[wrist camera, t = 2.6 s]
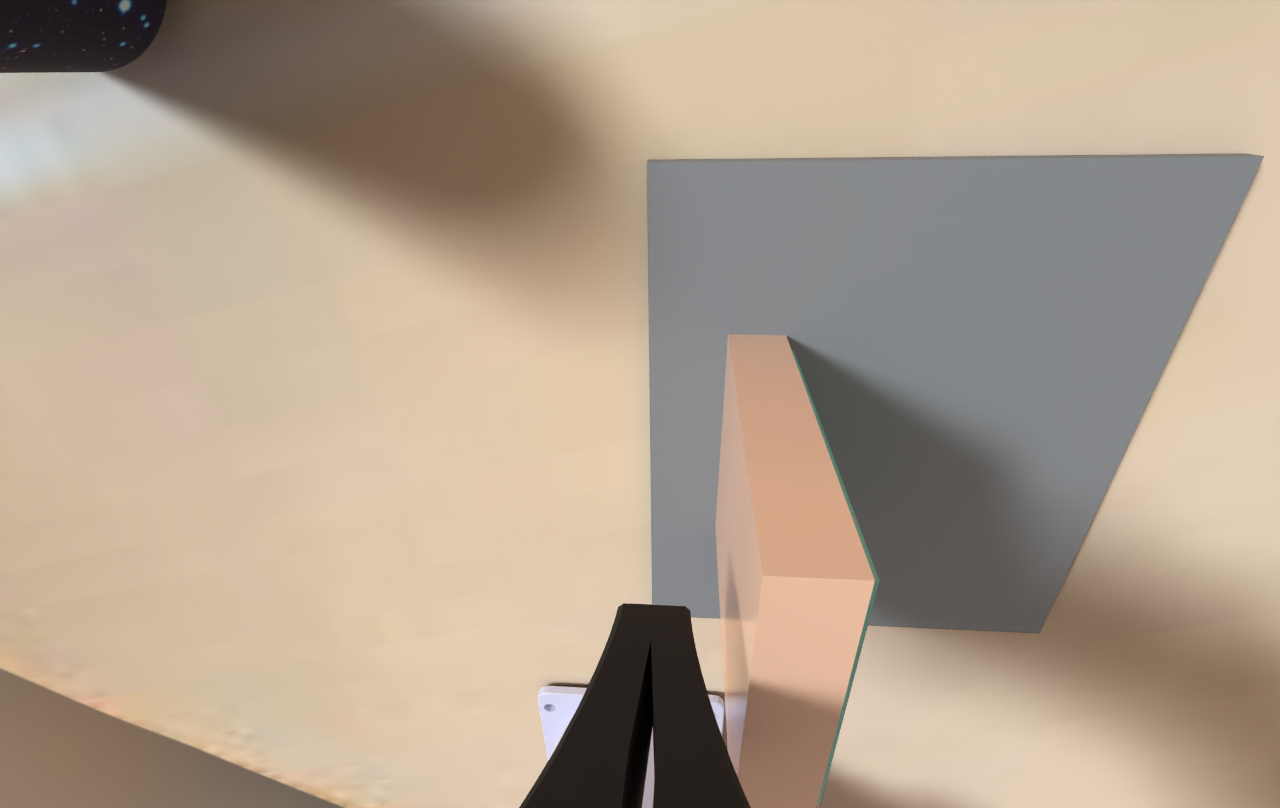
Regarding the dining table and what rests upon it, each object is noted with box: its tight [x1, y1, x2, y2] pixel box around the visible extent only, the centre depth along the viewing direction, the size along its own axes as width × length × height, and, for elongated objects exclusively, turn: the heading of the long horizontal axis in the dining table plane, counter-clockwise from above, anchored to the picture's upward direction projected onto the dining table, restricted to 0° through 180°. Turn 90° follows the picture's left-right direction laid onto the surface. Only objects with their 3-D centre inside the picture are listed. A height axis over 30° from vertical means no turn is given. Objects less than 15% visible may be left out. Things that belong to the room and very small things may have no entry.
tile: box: [715, 334, 879, 808], centre depth 14 cm, size 7×2×9 cm, turn 1°
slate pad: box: [647, 154, 1264, 633], centre depth 18 cm, size 16×14×1 cm
